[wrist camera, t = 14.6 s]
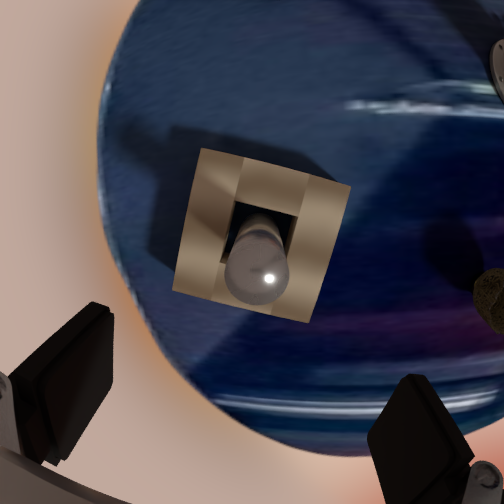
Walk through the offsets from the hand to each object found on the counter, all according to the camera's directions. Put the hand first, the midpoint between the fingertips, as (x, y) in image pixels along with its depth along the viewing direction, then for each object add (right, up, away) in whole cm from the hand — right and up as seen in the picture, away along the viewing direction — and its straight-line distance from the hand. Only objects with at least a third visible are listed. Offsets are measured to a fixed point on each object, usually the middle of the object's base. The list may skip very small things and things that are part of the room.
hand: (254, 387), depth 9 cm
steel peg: (+1, +6, +24) cm, 25 cm away
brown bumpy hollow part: (+30, 0, +25) cm, 39 cm away
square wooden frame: (+1, +6, +24) cm, 25 cm away
